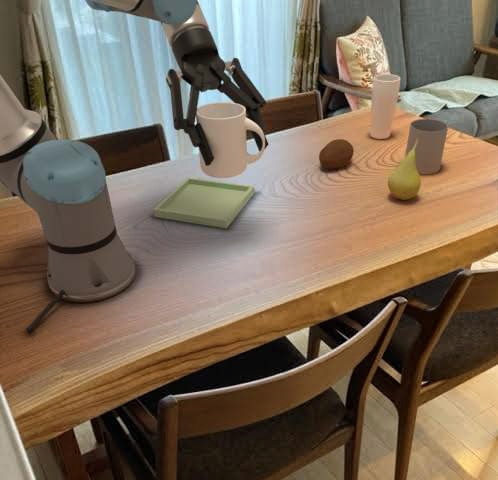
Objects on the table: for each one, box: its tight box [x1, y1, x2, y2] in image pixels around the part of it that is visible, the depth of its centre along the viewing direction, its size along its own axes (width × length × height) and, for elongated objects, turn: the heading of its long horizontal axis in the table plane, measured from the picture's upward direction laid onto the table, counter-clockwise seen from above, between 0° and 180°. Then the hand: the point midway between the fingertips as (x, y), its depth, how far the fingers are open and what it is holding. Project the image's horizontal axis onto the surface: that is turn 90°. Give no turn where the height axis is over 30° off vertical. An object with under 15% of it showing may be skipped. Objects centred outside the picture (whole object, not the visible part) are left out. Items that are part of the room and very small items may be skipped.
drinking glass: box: [369, 73, 401, 140], centre depth 140 cm, size 7×7×15 cm
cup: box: [404, 118, 449, 175], centre depth 126 cm, size 8×8×10 cm
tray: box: [152, 176, 255, 229], centre depth 117 cm, size 17×17×2 cm
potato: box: [318, 138, 355, 170], centre depth 130 cm, size 7×10×6 cm
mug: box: [195, 101, 266, 179], centre depth 96 cm, size 9×12×11 cm
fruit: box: [387, 138, 422, 201], centre depth 114 cm, size 7×8×12 cm
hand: (237, 155), depth 94 cm, fingers closed on mug, 10 cm apart
